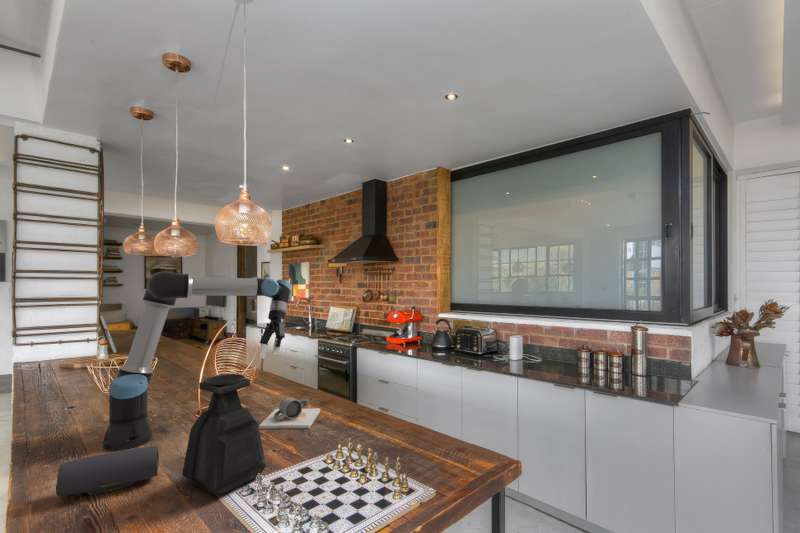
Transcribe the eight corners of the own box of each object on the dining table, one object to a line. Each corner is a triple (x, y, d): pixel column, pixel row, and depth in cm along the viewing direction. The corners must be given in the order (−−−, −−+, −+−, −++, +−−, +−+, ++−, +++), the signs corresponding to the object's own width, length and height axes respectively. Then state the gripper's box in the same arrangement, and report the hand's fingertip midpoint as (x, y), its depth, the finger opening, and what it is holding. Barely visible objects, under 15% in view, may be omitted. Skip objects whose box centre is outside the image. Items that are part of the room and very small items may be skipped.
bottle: (180, 484, 114) (181, 380, 115) (232, 461, 128) (232, 369, 129) (215, 503, 104) (216, 389, 105) (267, 476, 118) (267, 376, 119)
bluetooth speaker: (158, 471, 122) (159, 439, 122) (156, 485, 114) (156, 450, 114) (64, 491, 111) (65, 455, 111) (54, 508, 103) (55, 469, 103)
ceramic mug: (294, 411, 171) (293, 394, 171) (302, 416, 165) (302, 398, 165) (270, 418, 164) (270, 399, 164) (278, 423, 158) (278, 404, 158)
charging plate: (309, 428, 156) (309, 423, 156) (259, 428, 156) (259, 423, 156) (325, 403, 187) (325, 398, 187) (283, 403, 187) (283, 399, 187)
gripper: (297, 308, 179) (289, 354, 170) (273, 318, 196) (263, 361, 187) (282, 303, 174) (273, 351, 165) (259, 314, 192) (248, 358, 182)
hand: (268, 356), depth 176 cm, fingers open, 13 cm apart
